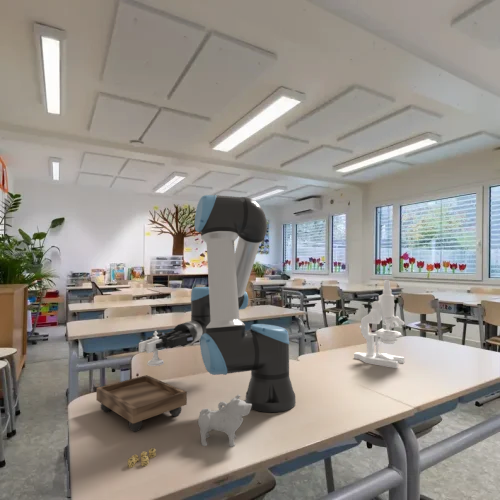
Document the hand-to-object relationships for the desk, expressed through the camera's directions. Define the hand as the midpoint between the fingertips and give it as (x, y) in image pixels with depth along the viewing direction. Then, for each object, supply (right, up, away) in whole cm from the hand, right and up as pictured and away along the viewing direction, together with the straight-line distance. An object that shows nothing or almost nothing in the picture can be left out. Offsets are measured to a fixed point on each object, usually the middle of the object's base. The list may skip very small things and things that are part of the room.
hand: (143, 348), depth 101 cm
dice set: (+8, -18, -27) cm, 33 cm away
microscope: (+86, -20, +48) cm, 100 cm away
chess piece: (+2, -6, +5) cm, 8 cm away
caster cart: (0, -18, -2) cm, 18 cm away
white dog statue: (+25, -17, -18) cm, 35 cm away
